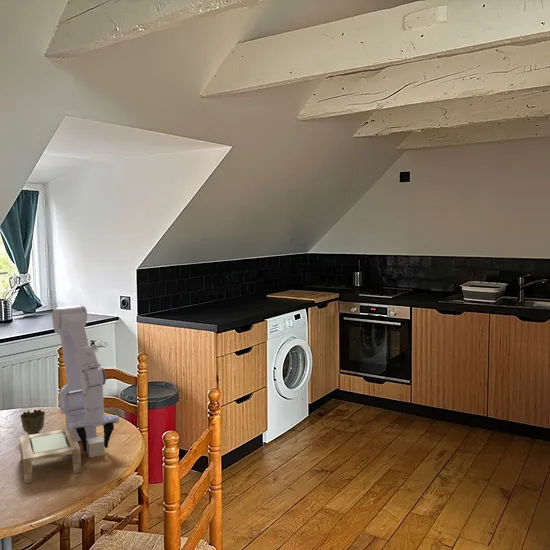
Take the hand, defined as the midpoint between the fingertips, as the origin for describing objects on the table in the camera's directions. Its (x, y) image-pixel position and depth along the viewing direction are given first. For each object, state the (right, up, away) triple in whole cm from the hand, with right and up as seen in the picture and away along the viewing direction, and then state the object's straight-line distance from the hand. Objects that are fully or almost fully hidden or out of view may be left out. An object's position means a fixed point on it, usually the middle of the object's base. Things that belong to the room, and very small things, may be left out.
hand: (95, 448), depth 177 cm
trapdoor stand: (-11, -3, -8) cm, 14 cm away
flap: (-11, +1, -8) cm, 14 cm away
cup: (-25, 0, +14) cm, 29 cm away
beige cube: (0, -2, 0) cm, 2 cm away
